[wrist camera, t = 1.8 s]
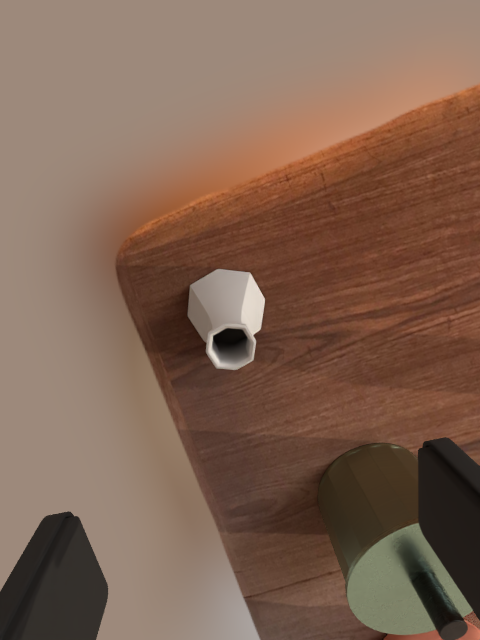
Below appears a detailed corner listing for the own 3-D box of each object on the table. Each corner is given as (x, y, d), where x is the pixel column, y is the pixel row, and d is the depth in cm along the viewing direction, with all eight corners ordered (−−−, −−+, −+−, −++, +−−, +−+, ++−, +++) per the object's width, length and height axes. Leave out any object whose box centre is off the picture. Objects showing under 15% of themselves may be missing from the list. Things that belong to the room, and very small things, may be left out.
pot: (317, 536, 38) (348, 633, 29) (317, 448, 35) (353, 528, 26) (418, 524, 39) (479, 615, 30) (429, 437, 35) (503, 511, 26)
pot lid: (340, 629, 30) (361, 698, 26) (344, 517, 26) (370, 577, 22) (478, 611, 31) (522, 675, 26) (503, 499, 27) (560, 554, 22)
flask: (196, 350, 30) (188, 409, 21) (177, 276, 28) (158, 303, 19) (271, 335, 31) (296, 386, 21) (257, 260, 28) (278, 278, 19)
